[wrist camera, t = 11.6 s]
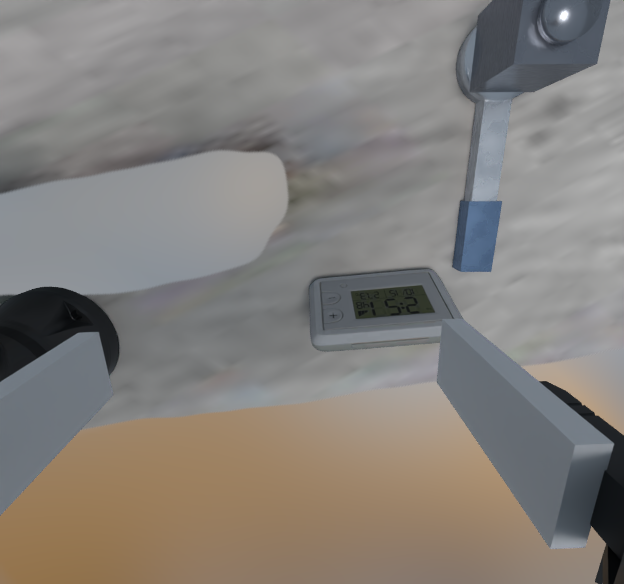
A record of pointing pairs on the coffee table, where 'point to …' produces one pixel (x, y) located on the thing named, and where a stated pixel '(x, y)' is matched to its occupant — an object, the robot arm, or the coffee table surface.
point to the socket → (535, 43)
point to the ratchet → (481, 170)
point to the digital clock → (378, 310)
